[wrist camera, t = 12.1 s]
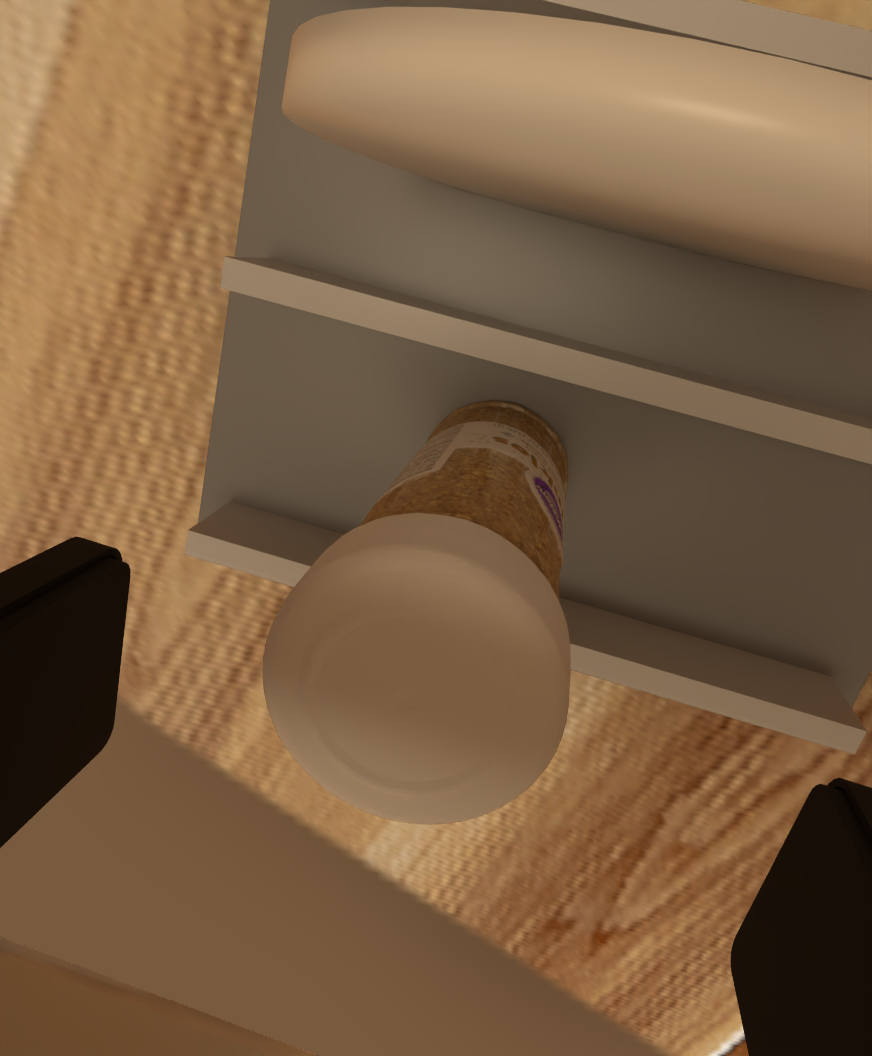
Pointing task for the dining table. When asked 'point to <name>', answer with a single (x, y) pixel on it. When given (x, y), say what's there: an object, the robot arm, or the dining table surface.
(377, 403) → the dish rack
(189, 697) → the dining table surface
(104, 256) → the dining table surface
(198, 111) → the dining table surface
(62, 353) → the dining table surface
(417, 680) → the sprinkles bottle
